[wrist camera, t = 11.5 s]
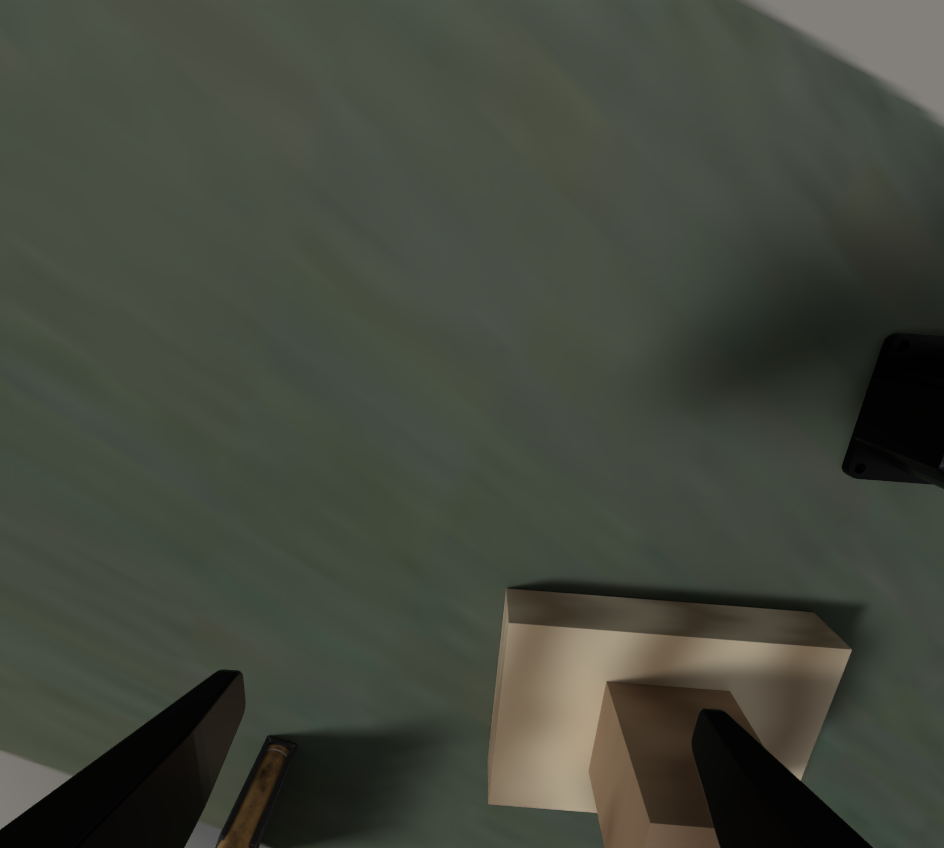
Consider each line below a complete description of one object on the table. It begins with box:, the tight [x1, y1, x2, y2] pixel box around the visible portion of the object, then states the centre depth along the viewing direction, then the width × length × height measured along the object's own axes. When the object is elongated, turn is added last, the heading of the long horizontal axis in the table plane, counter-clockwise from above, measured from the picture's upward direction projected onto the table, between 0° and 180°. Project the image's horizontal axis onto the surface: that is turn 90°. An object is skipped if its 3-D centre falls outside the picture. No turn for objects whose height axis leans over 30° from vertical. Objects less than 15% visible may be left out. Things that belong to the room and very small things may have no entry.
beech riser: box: [488, 588, 852, 813], centre depth 24 cm, size 16×12×2 cm
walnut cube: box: [589, 681, 764, 848], centre depth 20 cm, size 6×6×6 cm
